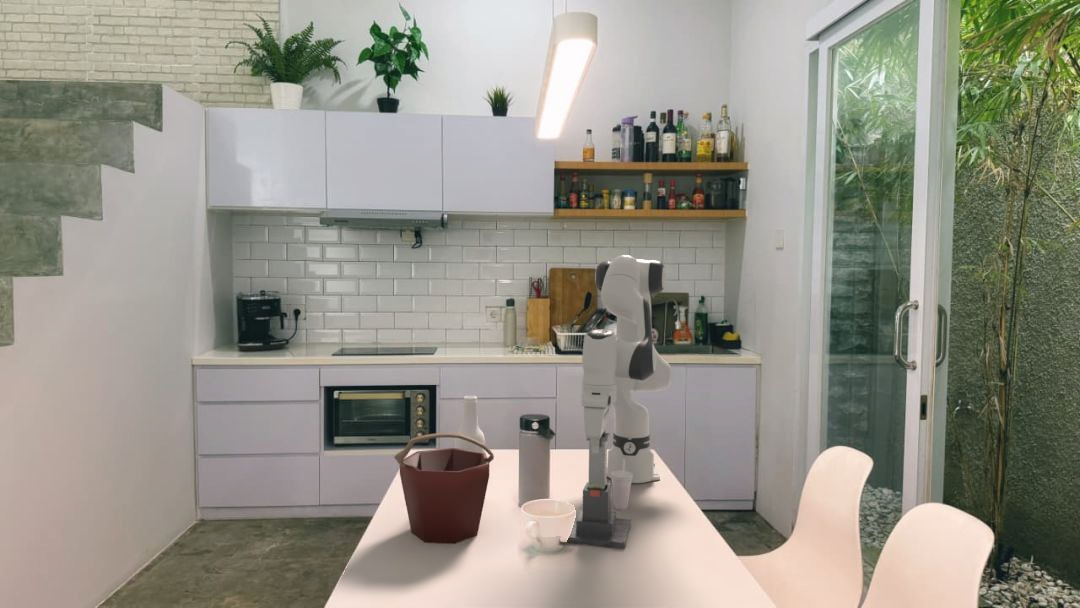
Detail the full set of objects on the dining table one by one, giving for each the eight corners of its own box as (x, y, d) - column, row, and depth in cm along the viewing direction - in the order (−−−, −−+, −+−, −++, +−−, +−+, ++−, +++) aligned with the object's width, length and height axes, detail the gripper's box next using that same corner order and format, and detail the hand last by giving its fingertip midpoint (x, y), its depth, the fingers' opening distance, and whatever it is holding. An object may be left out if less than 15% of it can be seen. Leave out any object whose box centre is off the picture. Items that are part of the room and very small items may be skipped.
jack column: (588, 500, 178) (589, 431, 177) (608, 502, 177) (609, 433, 176) (585, 506, 173) (586, 436, 172) (605, 508, 172) (607, 437, 171)
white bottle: (484, 503, 197) (485, 399, 195) (453, 503, 196) (454, 399, 194) (484, 493, 205) (485, 393, 204) (455, 493, 205) (455, 393, 203)
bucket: (386, 546, 165) (386, 444, 164) (408, 513, 187) (408, 423, 186) (487, 549, 164) (488, 446, 163) (497, 516, 186) (498, 425, 185)
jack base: (571, 519, 185) (572, 474, 184) (630, 525, 181) (631, 479, 181) (559, 542, 169) (560, 493, 169) (624, 549, 166) (625, 499, 165)
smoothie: (631, 512, 191) (632, 462, 190) (608, 510, 192) (609, 460, 192) (633, 504, 197) (634, 456, 197) (610, 502, 199) (611, 454, 198)
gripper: (592, 386, 184) (591, 437, 185) (580, 400, 164) (579, 457, 165) (616, 388, 183) (615, 439, 184) (606, 402, 163) (605, 459, 164)
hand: (598, 448), depth 174 cm, fingers open, 8 cm apart
